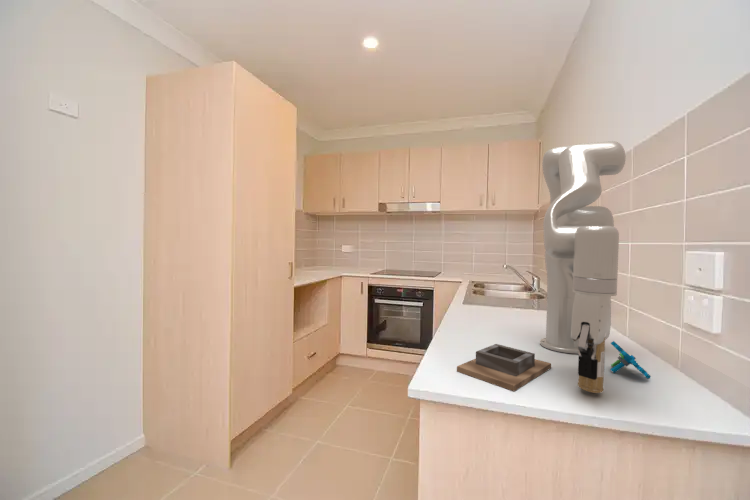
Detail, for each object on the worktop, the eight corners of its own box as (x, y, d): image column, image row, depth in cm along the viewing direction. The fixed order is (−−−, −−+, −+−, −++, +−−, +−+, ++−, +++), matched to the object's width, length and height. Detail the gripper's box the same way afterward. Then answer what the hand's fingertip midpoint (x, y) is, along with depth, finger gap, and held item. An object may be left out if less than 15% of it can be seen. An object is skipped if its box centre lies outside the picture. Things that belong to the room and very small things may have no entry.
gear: (658, 379, 71) (619, 341, 76) (634, 395, 73) (597, 356, 77) (646, 370, 81) (611, 336, 85) (625, 383, 83) (592, 350, 87)
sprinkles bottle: (574, 388, 68) (576, 324, 68) (581, 382, 71) (583, 320, 71) (600, 396, 65) (603, 329, 64) (606, 389, 68) (609, 325, 67)
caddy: (497, 353, 92) (498, 338, 92) (550, 368, 82) (551, 351, 81) (456, 371, 79) (457, 353, 78) (514, 391, 68) (514, 371, 68)
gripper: (586, 280, 76) (583, 358, 76) (559, 287, 64) (556, 379, 65) (626, 284, 70) (623, 368, 71) (604, 293, 59) (601, 393, 59)
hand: (591, 372), depth 68 cm, fingers closed on sprinkles bottle, 4 cm apart
